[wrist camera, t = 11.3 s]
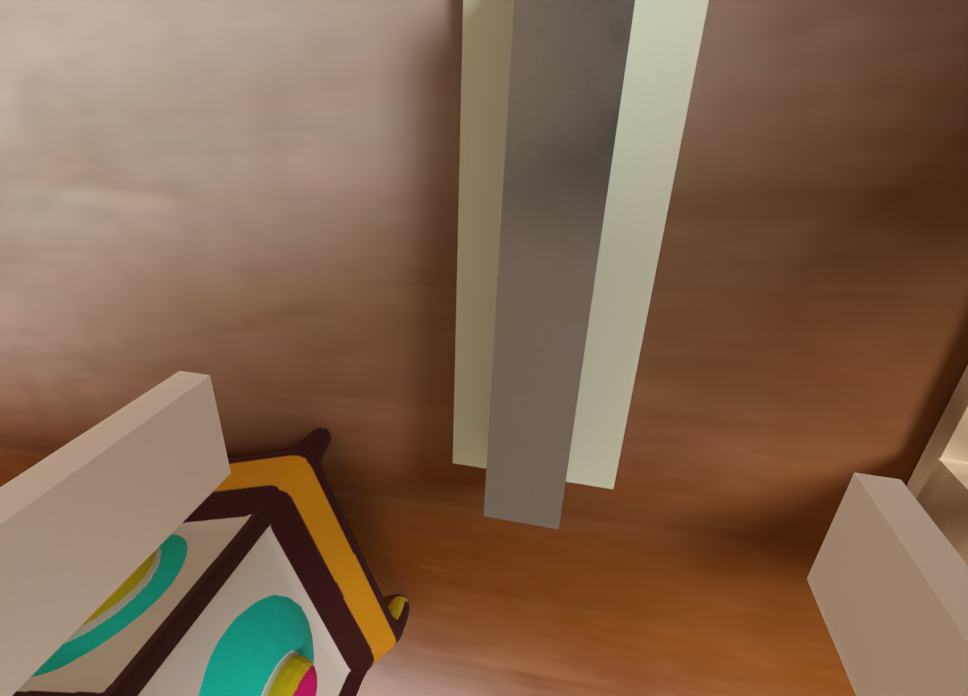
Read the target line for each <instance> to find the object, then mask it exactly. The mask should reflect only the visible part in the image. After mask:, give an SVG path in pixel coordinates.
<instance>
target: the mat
mask: <svg viewBox="0 0 968 696" xmlns="http://www.w3.org/2000/svg"><path fill="white" fill-rule="evenodd" d="M708 2H709V0H635V6H634V12H633V19H632V26H631V33H630V40H629V47H628V54H627V61H626V68H625V75H624V82H623V89H622V95H621V102H620V109H619V116H618V123H617V130H616V137H615V144H614V151H613V158H612V165H611V172H610V179H609V185H608V192H607V199H606V206H605V213H604V220H603V227H602V234H601V241H600V248H599V255H598V262H597V268H596V275H595V282H594V289H593V296H592V303H591V310H590V317H589V324H588V331H587V338H586V345H585V352H584V358H583V365H582V372H581V379H580V386H579V393H578V400H577V407H576V414H575V421H574V428H573V435H572V441H571V448H570V455H569V462H568V469H567V476H566V482H571V483H577V484H583V485H589V486H595V487H602V488H608V489H614V484H615V478H616V473H617V468H618V463H619V458H620V453H621V448H622V443H623V437H624V432H625V427H626V422H627V417H628V412H629V407H630V402H631V396H632V391H633V386H634V381H635V376H636V371H637V366H638V361H639V355H640V350H641V345H642V340H643V335H644V330H645V325H646V320H647V314H648V309H649V304H650V299H651V294H652V289H653V284H654V279H655V273H656V268H657V263H658V258H659V253H660V248H661V243H662V238H663V232H664V227H665V222H666V217H667V212H668V207H669V202H670V197H671V191H672V186H673V181H674V176H675V171H676V166H677V161H678V156H679V150H680V145H681V140H682V135H683V130H684V125H685V120H686V115H687V109H688V104H689V99H690V94H691V89H692V84H693V79H694V74H695V68H696V63H697V58H698V53H699V48H700V43H701V38H702V33H703V27H704V22H705V17H706V12H707V7H708ZM513 13H514V0H463V28H462V72H461V116H460V161H459V205H458V249H457V293H456V338H455V382H454V426H453V463H455V464H461V465H467V466H473V467H479V468H485V469H486V467H487V450H488V433H489V417H490V400H491V383H492V366H493V349H494V333H495V316H496V299H497V282H498V265H499V249H500V232H501V215H502V198H503V181H504V165H505V148H506V131H507V114H508V97H509V81H510V64H511V47H512V30H513Z"/></svg>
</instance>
